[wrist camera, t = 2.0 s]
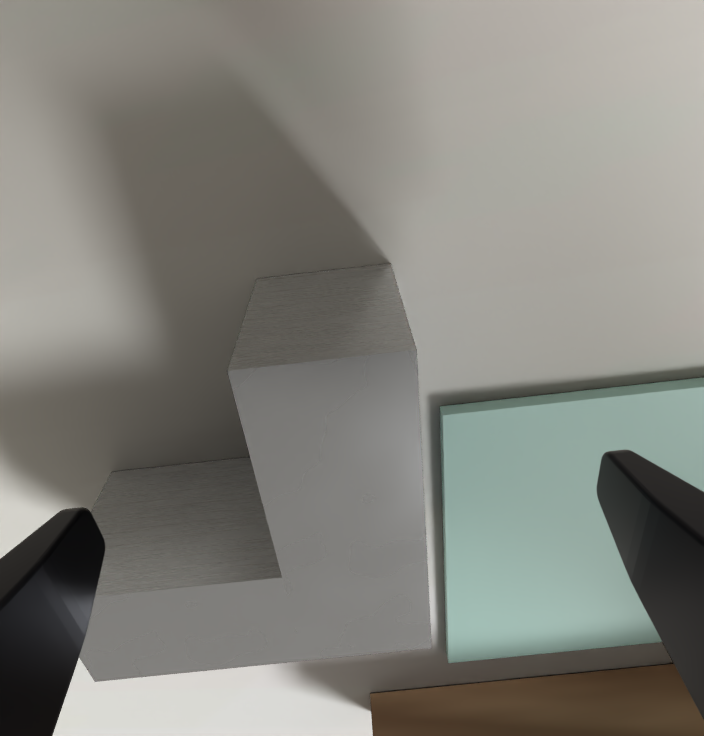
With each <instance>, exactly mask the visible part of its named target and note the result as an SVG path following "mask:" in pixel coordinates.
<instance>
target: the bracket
mask: <svg viewBox="0 0 704 736" xmlns="http://www.w3.org/2000/svg"><path fill="white" fill-rule="evenodd" d="M227 372H228V376H229V380H230V383H231V387H232V391H233V395H234V398H235V402H236V406H237V410H238V413H239V417H240V421H241V425H242V428H243V432H244V436H245V440H246V443H247V447H248V451H249V455H250V457H244V458H234V459H225V460H216V461H207V462H198V463H188V464H179V465H170V466H161V467H151V468H142V469H133V470H124V471H115V472H111V474H110V476H109V478H108V480H107V482H106V484H105V486H104V488H103V489H102V491H101V493H100V495H99V497H98V499H97V501H96V503H95V505H94V507H93V509H92V511H91V513H92V515H93V517H94V519H95V521H96V523H97V525H98V527H99V529H100V531H101V533H102V535H103V537H104V541H105V555H104V559H103V564H102V568H101V572H100V577H99V581H98V586H97V590H96V594H95V599H94V603H93V608H92V612H91V616H90V621H89V625H88V629H87V633H86V636H85V640H84V643H83V646H82V649H81V652H80V655H79V658H80V659H81V661H82V662H83V664H84V665H85V667H86V668H87V670H88V672H89V673H90V675H91V676H92V678H93V679H94V681H95V682H97V681H107V680H117V679H127V678H137V677H147V676H157V675H167V674H177V673H187V672H197V671H207V670H217V669H227V668H237V667H247V666H257V665H267V664H277V663H287V662H297V661H307V660H317V659H327V658H337V657H347V656H357V655H367V654H377V653H387V652H397V651H407V650H417V649H428V648H432V645H431V625H430V605H429V585H428V566H427V546H426V526H425V506H424V487H423V467H422V447H421V427H420V408H419V388H418V368H417V349H416V346H415V343H414V339H413V336H412V333H411V329H410V326H409V323H408V319H407V316H406V313H405V309H404V306H403V303H402V299H401V296H400V293H399V289H398V286H397V282H396V279H395V276H394V272H393V269H392V266H391V263H388V264H379V265H371V266H362V267H353V268H345V269H336V270H327V271H319V272H310V273H302V274H293V275H284V276H276V277H267V278H258V279H256V282H255V286H254V289H253V292H252V295H251V298H250V301H249V304H248V307H247V311H246V314H245V317H244V320H243V323H242V326H241V329H240V332H239V336H238V339H237V342H236V345H235V348H234V351H233V354H232V357H231V361H230V364H229V367H228V370H227Z"/></svg>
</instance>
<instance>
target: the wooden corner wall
mask: <svg viewBox="0 0 704 736" xmlns="http://www.w3.org/2000/svg"><path fill="white" fill-rule="evenodd" d="M370 698H371V714H372V729H373V736H704V720H703V718H702V716H701V714H700V712H699V710H698V708H697V707H696V705H695V703H694V701H693V699H692V697H691V695H690V693H689V691H688V690H687V688H686V686H685V684H684V682H683V680H682V678H681V676H680V674H679V673H678V671H677V669H676V667H675V665H674V664H667V665H657V666H647V667H637V668H626V669H616V670H606V671H596V672H586V673H576V674H565V675H555V676H545V677H535V678H525V679H515V680H504V681H494V682H484V683H474V684H464V685H454V686H443V687H433V688H423V689H413V690H403V691H393V692H382V693H372V694H370Z"/></svg>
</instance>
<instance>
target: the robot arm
mask: <svg viewBox="0 0 704 736" xmlns="http://www.w3.org/2000/svg"><path fill="white" fill-rule="evenodd" d="M596 489H597V497H598V500H599V503H600V506H601V508H602V511H603V513H604V516H605V518H606V521H607V523H608V526H609V529H610V531H611V534H612V536H613V539H614V541H615V544H616V546H617V549H618V551H619V554H620V556H621V559H622V561H623V564H624V566H625V569H626V571H627V574H628V576H629V578H630V581H631V583H632V585H633V587H634V589H635V591H636V593H637V595H638V597H639V599H640V601H641V602H642V604H643V606H644V608H645V610H646V612H647V614H648V616H649V618H650V619H651V621H652V623H653V625H654V627H655V629H656V631H657V633H658V635H659V637H660V638H661V640H662V642H663V644H664V646H665V648H666V650H667V652H668V654H669V655H670V657H671V659H672V661H673V663H674V665H675V667H676V669H677V671H678V673H679V674H680V676H681V678H682V680H683V682H684V684H685V686H686V688H687V690H688V691H689V693H690V695H691V697H692V699H693V701H694V703H695V705H696V707H697V708H698V710H699V712H700V714H701V716H702V718H703V720H704V492H703V491H702V490H700V489H698V488H696V487H695V486H693V485H691V484H689V483H688V482H686V481H684V480H682V479H681V478H679V477H677V476H675V475H674V474H672V473H670V472H668V471H667V470H665V469H663V468H661V467H660V466H658V465H656V464H654V463H652V462H651V461H649V460H647V459H645V458H644V457H642V456H640V455H638V454H637V453H635V452H633V451H631V450H615V451H607V452H605V453H604V454H603V456H602V458H601V463H600V469H599V475H598V481H597V488H596ZM104 555H105V541H104V537H103V535H102V533H101V531H100V529H99V527H98V525H97V523H96V521H95V519H94V517H93V515H92V513H91V512H90V511H89V510H88V509H87V508H83V507H82V508H72V509H65V510H62V511H60V512H59V513H57V514H56V515H55V516H53V517H52V518H51V519H50V520H48V521H47V522H46V523H45V524H43V525H42V526H41V527H40V528H38V529H37V530H36V531H35V532H33V533H32V534H31V535H30V536H28V537H27V538H26V539H25V540H23V541H22V542H21V543H20V544H18V545H17V546H16V547H15V548H13V549H12V550H11V551H10V552H8V553H7V554H6V555H5V556H3V557H2V558H1V559H0V736H52V735H53V732H54V729H55V726H56V723H57V720H58V717H59V714H60V711H61V708H62V705H63V702H64V699H65V697H66V694H67V691H68V688H69V685H70V682H71V679H72V676H73V673H74V670H75V667H76V664H77V661H78V658H79V655H80V652H81V649H82V646H83V643H84V640H85V636H86V633H87V629H88V625H89V621H90V616H91V612H92V608H93V603H94V599H95V594H96V590H97V586H98V581H99V577H100V572H101V568H102V564H103V559H104Z"/></svg>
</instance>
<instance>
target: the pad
mask: <svg viewBox="0 0 704 736" xmlns="http://www.w3.org/2000/svg"><path fill="white" fill-rule="evenodd" d="M440 430H441V468H442V505H443V543H444V580H445V618H446V653H447V658H448V663H456V662H466V661H476V660H486V659H496V658H506V657H516V656H526V655H536V654H546V653H557V652H567V651H577V650H587V649H597V648H607V647H617V646H627V645H637V644H647V643H657V642H662V640H661V638H660V637H659V635H658V633H657V631H656V629H655V627H654V625H653V623H652V621H651V619H650V618H649V616H648V614H647V612H646V610H645V608H644V606H643V604H642V602H641V601H640V599H639V597H638V595H637V593H636V591H635V589H634V587H633V585H632V583H631V581H630V578H629V576H628V574H627V571H626V569H625V566H624V564H623V561H622V559H621V556H620V554H619V551H618V549H617V546H616V544H615V541H614V539H613V536H612V534H611V531H610V529H609V526H608V523H607V521H606V518H605V516H604V513H603V511H602V508H601V506H600V503H599V500H598V497H597V489H596V488H597V481H598V475H599V469H600V463H601V458H602V456H603V454H604V453H605V452H607V451H615V450H631V451H633V452H635V453H637V454H638V455H640V456H642V457H644V458H645V459H647V460H649V461H651V462H652V463H654V464H656V465H658V466H660V467H661V468H663V469H665V470H667V471H668V472H670V473H672V474H674V475H675V476H677V477H679V478H681V479H682V480H684V481H686V482H688V483H689V484H691V485H693V486H695V487H696V488H698V489H700V490H702V491H703V492H704V377H703V378H694V379H685V380H676V381H667V382H657V383H648V384H639V385H630V386H621V387H612V388H603V389H594V390H585V391H575V392H566V393H557V394H548V395H539V396H530V397H521V398H512V399H502V400H493V401H484V402H475V403H466V404H457V405H448V406H440Z"/></svg>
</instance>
